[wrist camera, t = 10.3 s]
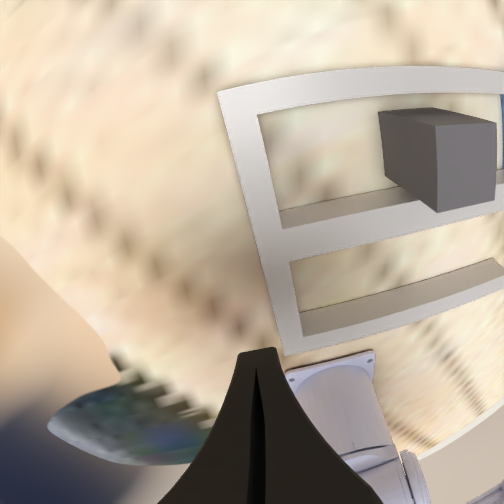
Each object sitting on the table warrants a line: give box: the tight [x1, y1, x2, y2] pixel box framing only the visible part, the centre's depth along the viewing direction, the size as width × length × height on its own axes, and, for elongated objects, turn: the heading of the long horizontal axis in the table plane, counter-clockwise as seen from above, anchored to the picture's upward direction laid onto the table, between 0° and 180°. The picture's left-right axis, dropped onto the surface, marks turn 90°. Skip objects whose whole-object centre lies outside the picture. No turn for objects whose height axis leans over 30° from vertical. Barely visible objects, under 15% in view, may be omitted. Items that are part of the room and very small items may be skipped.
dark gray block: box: [378, 108, 497, 213], centre depth 14 cm, size 4×4×6 cm
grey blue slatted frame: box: [217, 66, 504, 356], centre depth 16 cm, size 17×21×4 cm
